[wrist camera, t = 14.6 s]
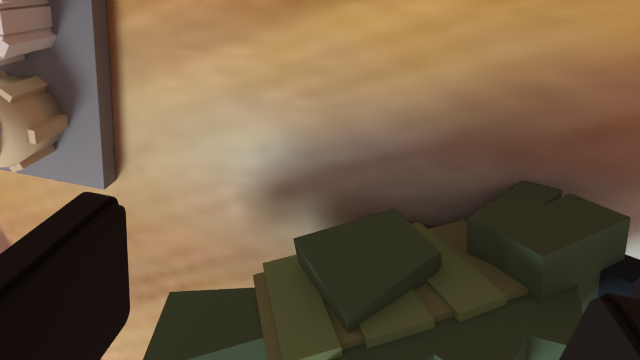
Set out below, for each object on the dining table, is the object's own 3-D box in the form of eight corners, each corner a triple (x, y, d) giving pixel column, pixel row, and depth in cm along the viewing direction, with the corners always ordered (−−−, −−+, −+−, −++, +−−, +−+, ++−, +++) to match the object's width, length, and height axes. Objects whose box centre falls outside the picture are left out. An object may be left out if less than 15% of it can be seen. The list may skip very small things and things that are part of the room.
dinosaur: (178, 353, 41) (158, 604, 24) (139, 247, 36) (79, 464, 19) (522, 256, 46) (706, 404, 29) (526, 151, 41) (746, 256, 25)
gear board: (-69, -119, 33) (-185, -142, 26) (101, -91, 32) (28, -107, 26) (-17, 154, 43) (-91, 189, 36) (115, 180, 42) (65, 220, 35)
